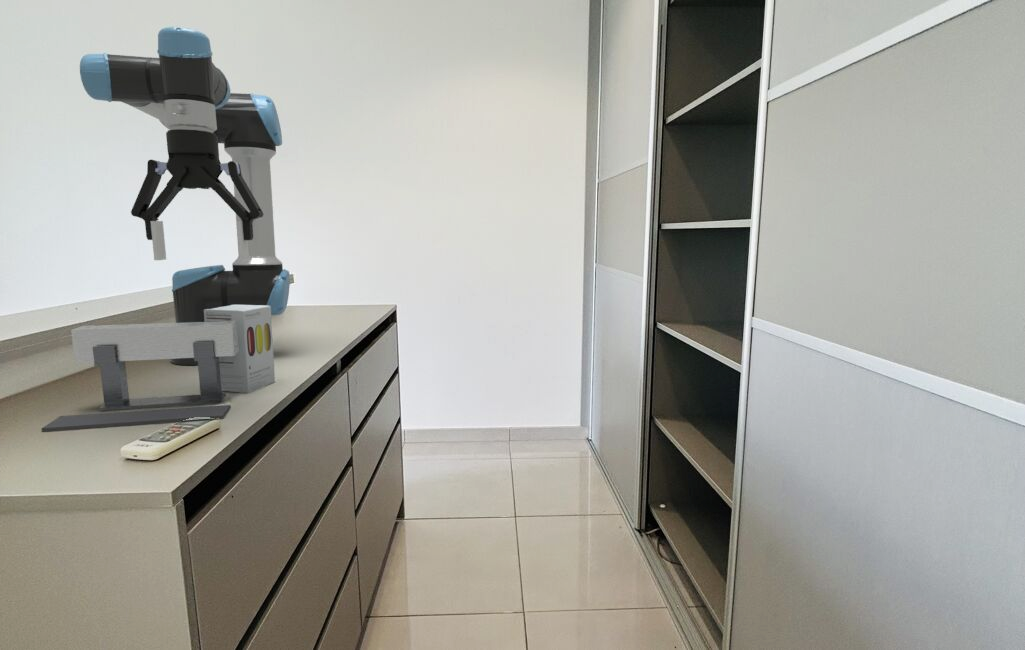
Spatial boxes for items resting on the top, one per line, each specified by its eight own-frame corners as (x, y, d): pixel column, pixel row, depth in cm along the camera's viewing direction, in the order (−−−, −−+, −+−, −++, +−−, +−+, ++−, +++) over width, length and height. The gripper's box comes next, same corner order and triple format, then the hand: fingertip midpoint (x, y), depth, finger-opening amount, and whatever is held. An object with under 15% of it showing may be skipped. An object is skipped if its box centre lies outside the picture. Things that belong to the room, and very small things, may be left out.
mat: (60, 419, 100) (60, 416, 100) (230, 407, 107) (230, 404, 107) (41, 431, 94) (41, 428, 94) (223, 418, 101) (222, 415, 101)
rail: (86, 357, 107) (82, 325, 106) (238, 351, 114) (236, 320, 113) (75, 363, 103) (71, 329, 102) (234, 355, 110) (231, 324, 109)
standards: (112, 401, 111) (105, 340, 109) (226, 394, 116) (222, 335, 114) (97, 412, 104) (89, 347, 102) (219, 404, 109) (214, 342, 107)
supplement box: (248, 393, 117) (242, 310, 114) (208, 391, 118) (201, 309, 116) (276, 381, 126) (271, 304, 123) (238, 379, 128) (233, 303, 125)
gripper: (97, 125, 91) (112, 261, 94) (264, 129, 94) (272, 261, 98) (122, 132, 98) (135, 258, 102) (276, 136, 101) (283, 258, 105)
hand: (202, 260), depth 100 cm, fingers open, 13 cm apart
